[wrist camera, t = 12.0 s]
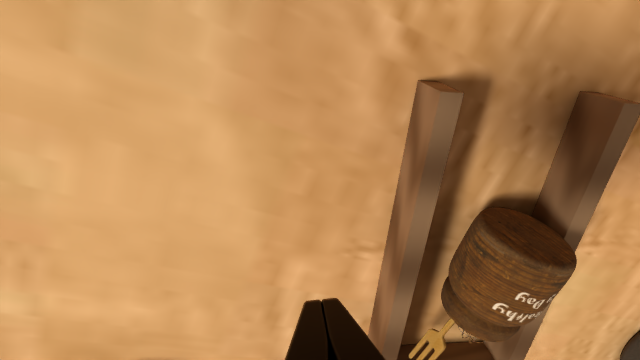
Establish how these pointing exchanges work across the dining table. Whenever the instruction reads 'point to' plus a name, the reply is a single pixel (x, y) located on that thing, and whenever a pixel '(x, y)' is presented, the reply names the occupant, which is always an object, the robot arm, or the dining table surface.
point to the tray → (551, 209)
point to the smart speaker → (632, 349)
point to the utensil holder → (501, 277)
